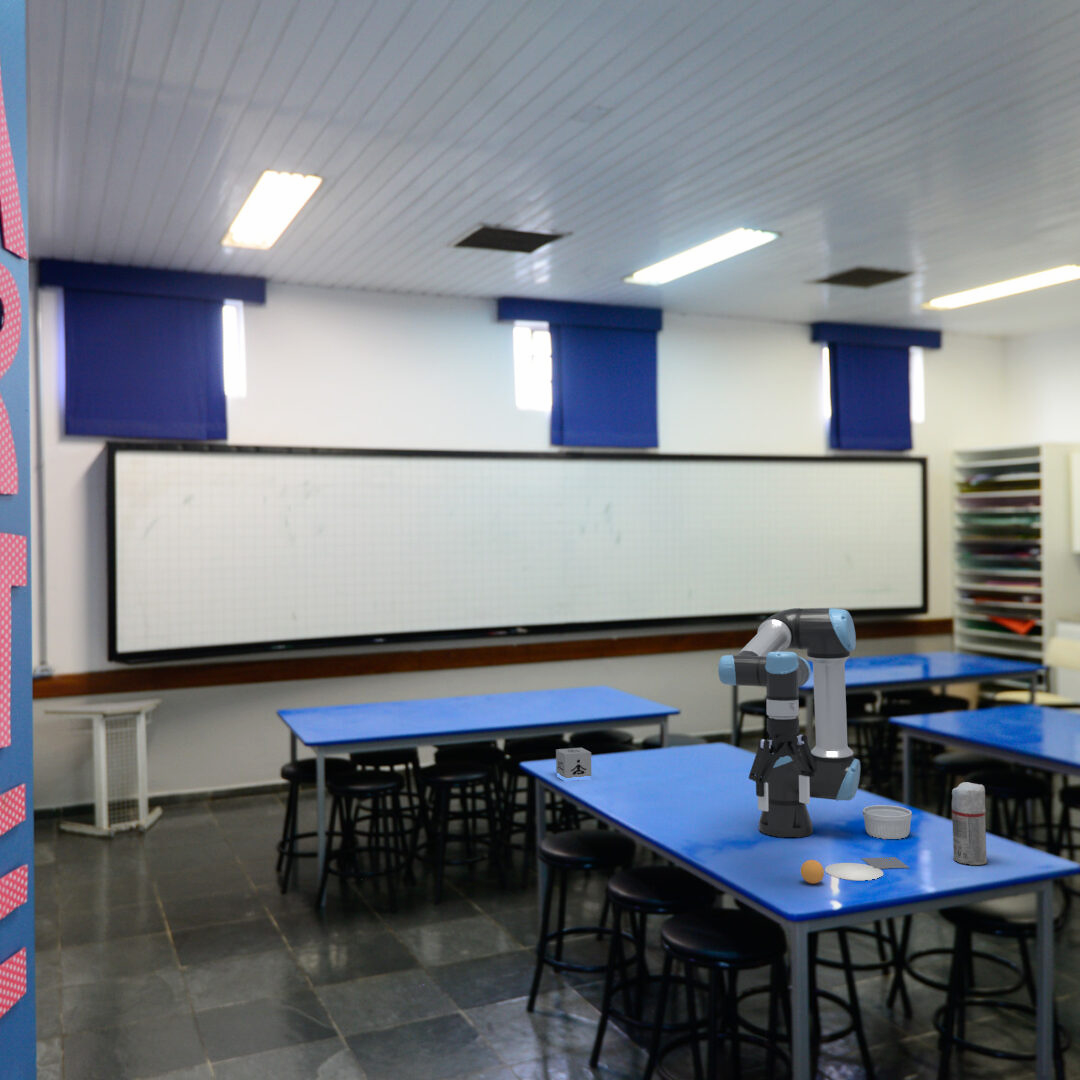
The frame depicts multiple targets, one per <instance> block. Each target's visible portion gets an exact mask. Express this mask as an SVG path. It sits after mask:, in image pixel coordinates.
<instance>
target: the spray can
mask: <svg viewBox="0 0 1080 1080" xmlns="http://www.w3.org/2000/svg"><path fill="white" fill-rule="evenodd" d="M951 791H952V792H951V795H952V796H951V797H952V799H951V816H952V817H951V818H952V822H951V823H952V845H953V847H952V848H953V852H952V853H953V860H954V861H955V862H956V861H957V863H958V862H959V864H962V863H963V864H962V865H966V864H969V865H968V866H981V865H985V864H988V860H987V837H986V836H987V835H986V830H987V829H986V811H987V810H986V789H985V786H984V785H983V784H978V783H972V782H968V781H967V782H965V781H964V782H961V783H959V785H958V786H956V787H954V788H953V789H952V790H951Z"/></svg>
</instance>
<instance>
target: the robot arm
mask: <svg viewBox="0 0 1080 1080" xmlns="http://www.w3.org/2000/svg"><path fill="white" fill-rule="evenodd" d="M856 639H857V638H856V630H855V625H854V621H853V618H852V616H851V614H850V612H849V611H848V610H846V609H842V608H833V607H825V608H824V607H823V608H822V607H819V608H816V607H815V608H810V607H809V608H808V607H807V608H800V607H798V608H788V609H784V610H782V611H780V612H777V613H775V614H773V615H771V616H770V617H767V618H766V619H765V620H764V621H763V622H761V624H760V625H759V627H758V629H757V634H756V635H755V636H754V637H752V639H750V641H749V642H748V643H746V645H745V646H744V647H743V648H742V649H741V650H740V651H739V652H738V653H737V654H736V655H734V654H730V655H729V654H728V655H727V654H725V655H722V656H721V657H720V659H719V662H718V670H717V672H718V678H719V680H720V682H721V684H723V685H730V686H741V687H742V686H744V687H765V688H766V689H765V690H766V715H767V716H768V717H767V718H766V732H767V733H768V735H769V737H768V739H764V738H763V739H762V738H759V739H758V743H757V744H758V747H757V750H756V754H755V757H754V759H753V761H752V766H751V769H750V771H749V774H748V779H749V781H753V782H755V794H756V797H757V810H760V811H761V815H760V818H759V821H758V831H759V830H760V831H761V832H762V833H761V832H760V831H759V832H760V833H761V834H763V833H765V834H764V835H766V834H767V836H770V835H772V836H771V837H775V836H777V838H784V837H797V838H804V837H808V836H810V835H812V834H813V833H814V831H813V822H812V820H811V816H810V814H809V811H808V808H807V805H810V804H811V798H812V799H813V798H814V799H823V800H834V801H837V802H838V801H852V800H853V799H854V798H855V797H856V794H857V791H858V789H859V783H860V778H861V777H860V776H861V761H860V759H857V758H854V751H853V749H851V748H850V747H849V746H848V725H847V724H848V723H847V722H848V721H847V720H848V719H847V701H846V696H847V695H846V694H847V693H846V669H845V662H846V661H847V660H848V659H849V658H850V656H851V654H850V653H851V652H852V651H854V650H855V649H856V645H857V642H856V641H857V640H856ZM789 649H790V650H806V657H807V659H809V660H810V661H811V662H812V668H811V665H810V663H809V662H808V661H807V659H805V658H803V657H802V656H799V655H798V654H797V652H795V651H794V652H793V651H785V650H789ZM812 669H813V671H812ZM812 673H813V696H814V697H813V699H814V703H813V704H814V723H815V724H814V725H815V730H814V731H815V746H814V747H813V748H812V749H810V747H809V744H808V735H805V734H799V733H800V719H799V717H798V716H799V715H800V714H799V713H800V710H799V704H800V703H799V688H800V687H802V686H804V685H806V683H807V682H808V681H809V679H810V678H811V675H812Z"/></svg>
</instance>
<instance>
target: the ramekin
mask: <svg viewBox="0 0 1080 1080" xmlns="http://www.w3.org/2000/svg"><path fill="white" fill-rule="evenodd" d="M912 813H913V812H912V810H910V809H908V808H906V807H902V806H897V805H890V804H889V805H888V804H887V805H886V804H883V805H882V804H877V805H876V804H875V805H869V806H866V807H863V809H862V815H863V820H864V827H865V832H866V833H867V834H868V835H869V836H870V837H872V836H873V838H875V837H876V839H879V838H882V839H881V840H886V839H899V840H902V839H901V838H904V839H906V838H907V837H908V836H909V835H910V831H911V822H912V821H911V820H912V818H913V815H912ZM905 837H906V838H905Z"/></svg>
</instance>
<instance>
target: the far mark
mask: <svg viewBox="0 0 1080 1080" xmlns="http://www.w3.org/2000/svg"><path fill="white" fill-rule="evenodd" d="M885 858H886V859H885ZM887 858H889V859H887ZM882 859H883V860H882ZM861 860H862V861H863V860H864V861H863V862H865V863H866V865H868V864H869V865H870V866H872V867H876V868H878V869H880V870H890V869H889V868H904V869H910V867H909V866H908V865H907V864H905V863H904V862H903V861H901V860H900V859H898V858H897V857H896V856H894V857H893V856H891V857H862V858H861ZM889 860H890V861H889ZM892 860H893V861H892ZM874 869H875V868H874Z"/></svg>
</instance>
